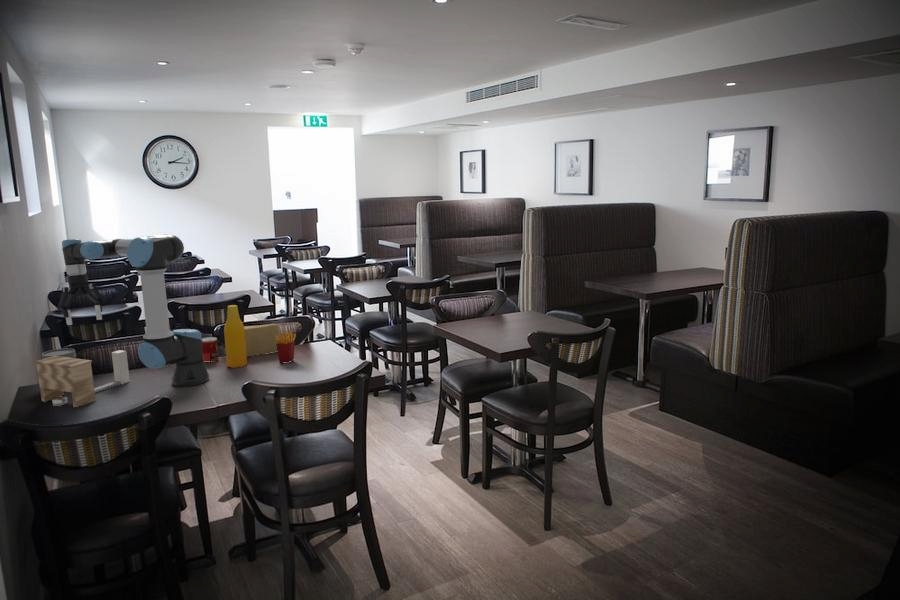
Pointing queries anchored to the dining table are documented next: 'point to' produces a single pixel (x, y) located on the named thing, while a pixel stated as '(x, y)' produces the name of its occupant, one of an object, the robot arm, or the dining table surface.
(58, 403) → the steel token
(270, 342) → the cheese
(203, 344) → the red drink glass
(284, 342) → the french fries
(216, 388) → the dining table surface
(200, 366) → the robot arm
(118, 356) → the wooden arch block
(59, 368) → the wooden bridge
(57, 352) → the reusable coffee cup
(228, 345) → the beer bottle
